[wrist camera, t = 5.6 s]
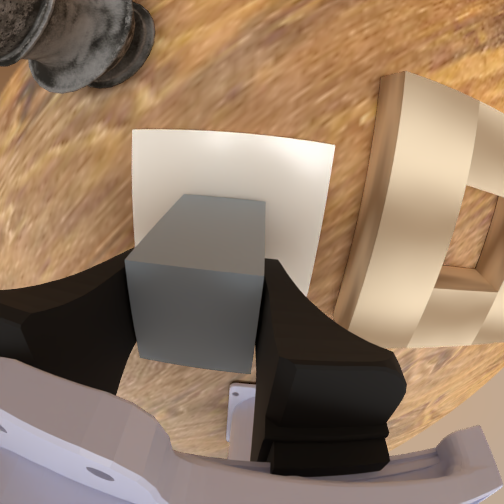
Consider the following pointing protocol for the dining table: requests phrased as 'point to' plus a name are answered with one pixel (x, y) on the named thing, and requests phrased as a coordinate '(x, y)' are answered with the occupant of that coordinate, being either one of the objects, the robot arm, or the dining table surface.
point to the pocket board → (425, 222)
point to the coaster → (238, 184)
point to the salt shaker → (76, 41)
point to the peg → (200, 283)
